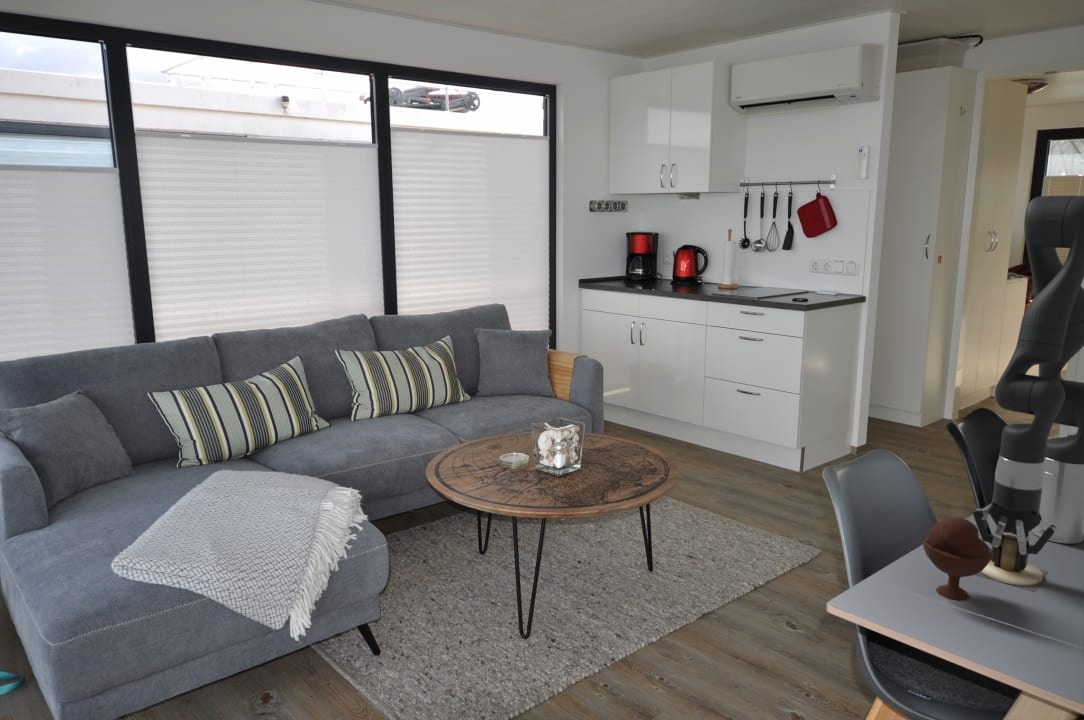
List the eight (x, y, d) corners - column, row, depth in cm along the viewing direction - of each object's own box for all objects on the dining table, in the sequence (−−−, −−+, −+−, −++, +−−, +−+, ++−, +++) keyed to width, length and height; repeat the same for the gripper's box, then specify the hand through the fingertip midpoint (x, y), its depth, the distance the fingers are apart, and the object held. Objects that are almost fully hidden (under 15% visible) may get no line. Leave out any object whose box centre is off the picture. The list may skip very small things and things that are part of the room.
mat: (983, 555, 152) (983, 553, 152) (1047, 573, 145) (1048, 571, 145) (966, 574, 145) (966, 572, 144) (1034, 594, 137) (1034, 592, 137)
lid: (983, 553, 152) (987, 521, 151) (1048, 571, 145) (1052, 537, 143) (966, 572, 144) (970, 538, 143) (1034, 592, 137) (1039, 556, 136)
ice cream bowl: (1002, 607, 133) (1012, 526, 130) (944, 612, 131) (953, 530, 128) (959, 578, 143) (968, 503, 140) (905, 583, 141) (912, 506, 138)
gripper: (1068, 485, 139) (1055, 573, 142) (982, 467, 149) (972, 550, 152) (1059, 495, 134) (1046, 587, 137) (970, 477, 143) (961, 562, 147)
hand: (1007, 567), depth 144 cm, fingers closed on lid, 3 cm apart
